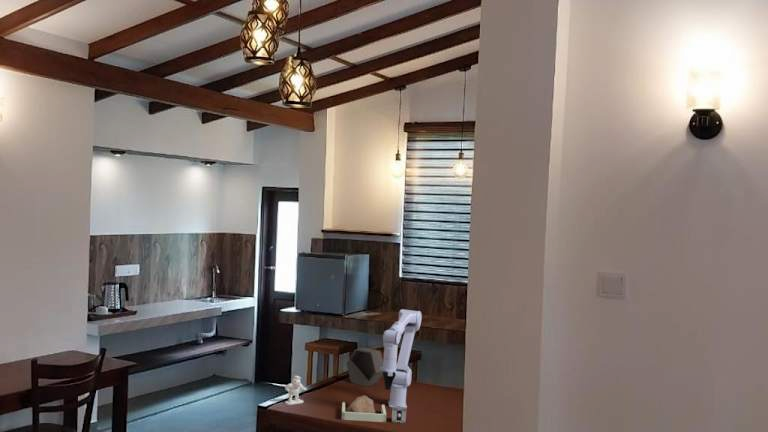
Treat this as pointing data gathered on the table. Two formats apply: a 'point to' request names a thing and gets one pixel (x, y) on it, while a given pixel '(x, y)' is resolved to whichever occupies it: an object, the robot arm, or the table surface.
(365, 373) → the planter
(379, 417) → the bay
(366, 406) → the stone
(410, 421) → the table surface
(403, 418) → the axle mount
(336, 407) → the table surface
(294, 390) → the figurine
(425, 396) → the table surface
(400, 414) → the wheel
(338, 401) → the table surface
